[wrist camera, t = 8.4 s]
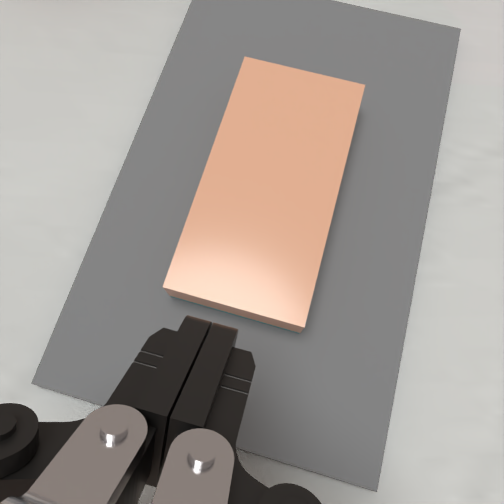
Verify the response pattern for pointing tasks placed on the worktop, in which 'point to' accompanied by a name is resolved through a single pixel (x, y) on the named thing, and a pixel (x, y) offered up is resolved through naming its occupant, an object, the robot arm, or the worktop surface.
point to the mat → (337, 244)
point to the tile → (267, 196)
